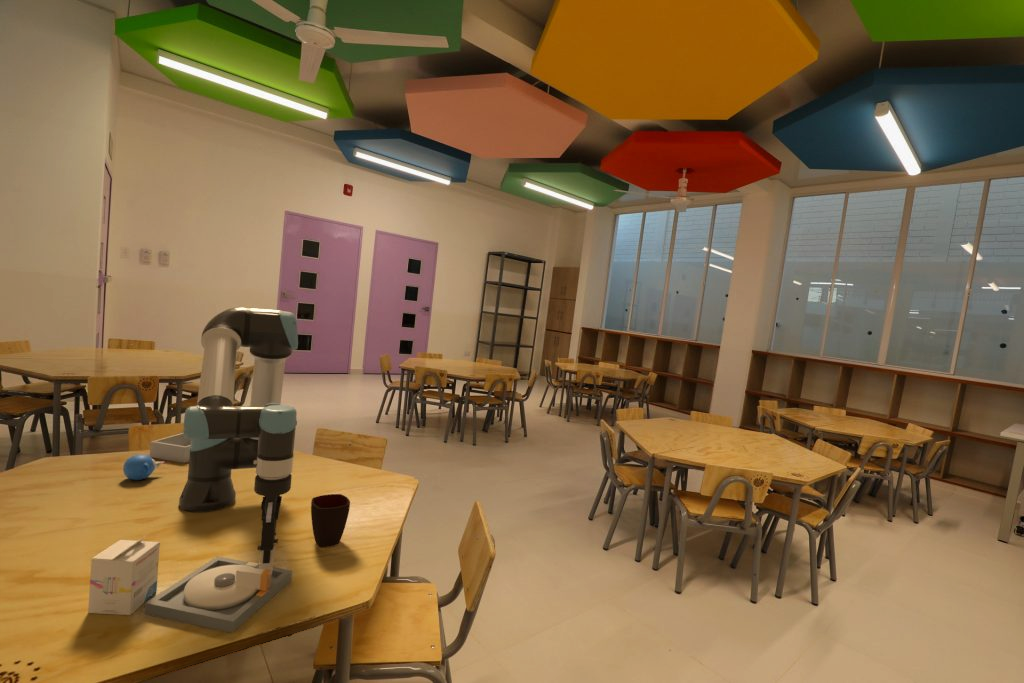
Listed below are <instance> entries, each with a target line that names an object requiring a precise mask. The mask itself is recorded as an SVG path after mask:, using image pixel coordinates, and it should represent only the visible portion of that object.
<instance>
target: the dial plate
mask: <svg viewBox="0 0 1024 683" xmlns="http://www.w3.org/2000/svg"><path fill="white" fill-rule="evenodd" d="M226 565H247V566H251V567H254V568H257V569H259V567H260V563H258V562H252V561H245V560H239V559H234V558H229V557H226V556H225V557H224V556H219V555H218V556H215V557H213V558H212V559H211V560H209V561H208V562H206V563H205V564H202V566H200V567H198V568H197V569H196V570H194V571H192V572H191V573H189V574H187V575H185V576H184V577H183V578H181V579H180V580H178V581H177V582H175V583H174V584H172V585H170V586H169V587H167V588H165V590H163V591H162V592H161V591H160V592H159V593H158V594H156V595H155V596H153V597H152V598H149V599H148V600H146V601H145V602H144V612H143V613H144V615H147V616H151V617H158V618H162V619H165V620H171V621H175V622H180V623H183V624H189V625H194V626H196V627H197V626H198V627H203V628H208V629H212V630H217V631H222V632H226V633H231V634H233V633H234V632H235V631H237V629H238V628H240V627H241V626H242V625H243V624H244V623H245V622H246V621H247V620H248V619H250V618H251V617H252V616H253V615H254V614H255V613H256V612H257V611H258V610H260V609H261V608H262V607H263V606H264V605H265V604H267V602H269V600H271V599H272V598H273V597H274V596H275V595H277V593H279V592H280V591H281V590H282V589H283V588H284V587H286V586H287V585H288V584H289V583H290V582H291V581H292V576H293V575H292V574H293V570H290V569H285V568H280V567H275V566H273V571H272V575H271V586H270V587H269V588H268V589H267V590H266V591H264V590H259V592H258V593H257V594H256V595H255V596H253V597H252V598H251V599H249V600H247V601H245V602H243V603H241V604H239V605H236V606H233V607H229V608H225V609H219V610H203V609H198V608H193V607H190V606H189V605H187V604H186V603H185V601H184V588H185V586H186V584H187V583H188V582H189V580H191V579H192V578H193V577H195V576H196V575H198V574H200V573H202V572H204V571H206V570H209V569H212V568H216V567H220V566H226Z"/></svg>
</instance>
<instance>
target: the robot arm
mask: <svg viewBox="0 0 1024 683" xmlns="http://www.w3.org/2000/svg"><path fill="white" fill-rule="evenodd" d="M298 334H299V333H298V322H297V316H296V314H294V313H293V312H292V311H291V312H290V311H285V310H280V309H267V308H265V309H264V308H252V307H245V306H244V307H243V306H241V307H239V306H237V307H231V308H227V309H225V310H223V311H221V312H219V313H217V314H216V315H215V316H213V317H212V318H211V319H210V320H209V321H208V322H207V323H206V324H205V326H204V328H203V330H202V333H201V339H200V344H201V346H202V348H203V357H202V364H201V371H200V378H199V387H198V395H197V403H196V405H193V406H188V407H186V408H185V412H184V419H183V429H182V430H183V432H182V433H183V434H184V437H185V438H187V439H191V444H190V448H189V451H190V457H189V461H188V470H187V472H188V473H187V480H186V482H185V484H184V487H183V489H182V492H181V494H180V497H179V499H178V500H179V501H178V502H179V503H178V506H179V508H180V509H181V510H184V511H187V512H195V513H203V512H211V511H212V512H213V511H218V510H222V509H225V508H228V507H230V506H231V505H233V504H234V503H235V502H236V494H237V493H236V490H235V488H234V483H233V480H232V470H241V469H242V470H243V469H255V473H256V476H254V487H253V491H254V493H255V494H257V495H258V496H262V501H261V504H260V509H261V518H260V519H261V523H262V524H261V537H260V538H261V540H260V541H261V542H260V545H258V546H257V551H260V558H259V564H260V567H259V569H265V570H266V569H267V570H272V571H273V567H274V559H275V558H274V557H275V556H274V555H275V544H278V543H279V538H277V539H276V536H277V533H276V532H277V531H276V530H277V521H278V520H279V516H280V515H279V514H280V509H281V505H282V504H281V503H282V501H283V500H282V498H283V496H282V495H284V494H287V493H288V492H289V491H290V490H291V488H292V472H293V467H294V459H295V458H294V457H295V455H294V448H295V438H296V428H297V425H298V420H297V415H298V414H297V409H296V408H294V407H291V406H289V405H283V404H282V394H283V385H284V376H285V365H286V360H287V359H288V358H290V357H291V356H292V352H293V351H296V350H298V348H299V347H298V346H299V338H298V337H299V336H298ZM241 347H242V348H249V353H250V355H251V356H253V358H254V362H253V372H252V373H253V375H252V384H251V395H250V404H249V405H250V406H249V405H248V406H247V405H246V406H245V405H244V406H243V405H240V406H239V405H237V406H235V405H234V399H235V381H236V380H235V379H236V366H237V364H236V363H237V352H238V350H239V349H240V348H241Z"/></svg>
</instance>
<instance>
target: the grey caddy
mask: <svg viewBox="0 0 1024 683" xmlns="http://www.w3.org/2000/svg"><path fill="white" fill-rule="evenodd" d="M190 444H191V439H187V438H185V437H184V434H183V432H181V433H177V434H173V435H169V436H166V437H163V438H159V439H155V440H152V441H150V448H149V456H150V457H151V458H152V459H153V458H154V459H159V460H165V461H171V462H177V463H189V457H190V451H189V448H190Z"/></svg>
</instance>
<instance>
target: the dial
mask: <svg viewBox="0 0 1024 683" xmlns="http://www.w3.org/2000/svg"><path fill="white" fill-rule="evenodd" d="M271 575H272V570H267V569H266V570H265V569H257V568H254V567H251V566H247V565H226V566H220V567H216V568H212V569H209V570H206V571H204V572H202V573H200V574H198V575H196V576H195V577H193V578H192V579H191V580H189V582H188V583H187V584H186V586H185V588H184V601H185V603H186V604H187V605H189V606H190V607H193V608H198V609H203V610H219V609H225V608H229V607H233V606H236V605H239V604H241V603H243V602H245V601H247V600H249V599H251V598H252V597H253V596H255V595H256V594H257V593H258V592H259V590H264V591H266V590H267V589H268V588H269V587H270V586H271Z"/></svg>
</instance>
